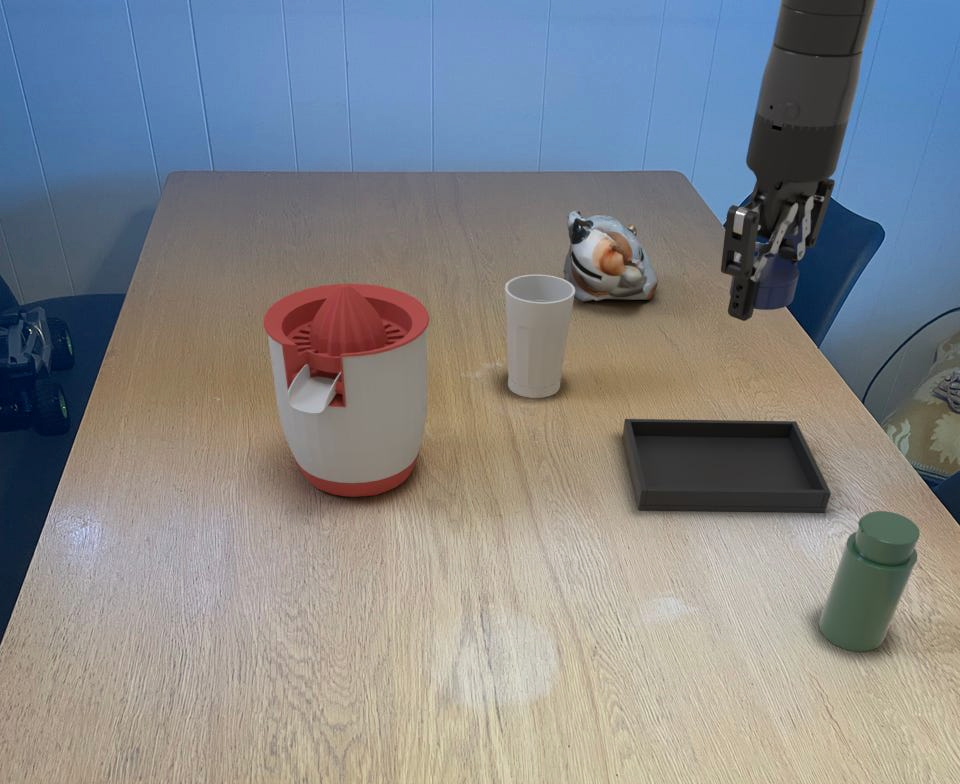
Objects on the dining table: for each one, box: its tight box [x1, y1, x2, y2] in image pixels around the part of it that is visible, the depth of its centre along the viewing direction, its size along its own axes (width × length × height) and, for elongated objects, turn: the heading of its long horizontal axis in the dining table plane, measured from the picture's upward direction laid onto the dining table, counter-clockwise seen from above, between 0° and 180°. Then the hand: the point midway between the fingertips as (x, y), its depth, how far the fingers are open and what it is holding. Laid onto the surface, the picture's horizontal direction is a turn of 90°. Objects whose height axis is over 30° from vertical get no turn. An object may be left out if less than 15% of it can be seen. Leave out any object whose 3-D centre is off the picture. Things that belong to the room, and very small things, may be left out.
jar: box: [818, 510, 921, 653], centre depth 82 cm, size 6×6×11 cm
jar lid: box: [729, 255, 800, 311], centre depth 89 cm, size 6×6×2 cm
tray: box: [621, 418, 832, 513], centre depth 103 cm, size 19×14×2 cm
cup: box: [504, 274, 575, 399], centre depth 113 cm, size 8×8×12 cm
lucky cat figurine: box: [563, 209, 659, 303], centre depth 133 cm, size 15×12×14 cm
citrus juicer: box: [263, 283, 430, 498], centre depth 95 cm, size 16×17×20 cm
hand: (758, 306), depth 91 cm, fingers closed on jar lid, 6 cm apart
